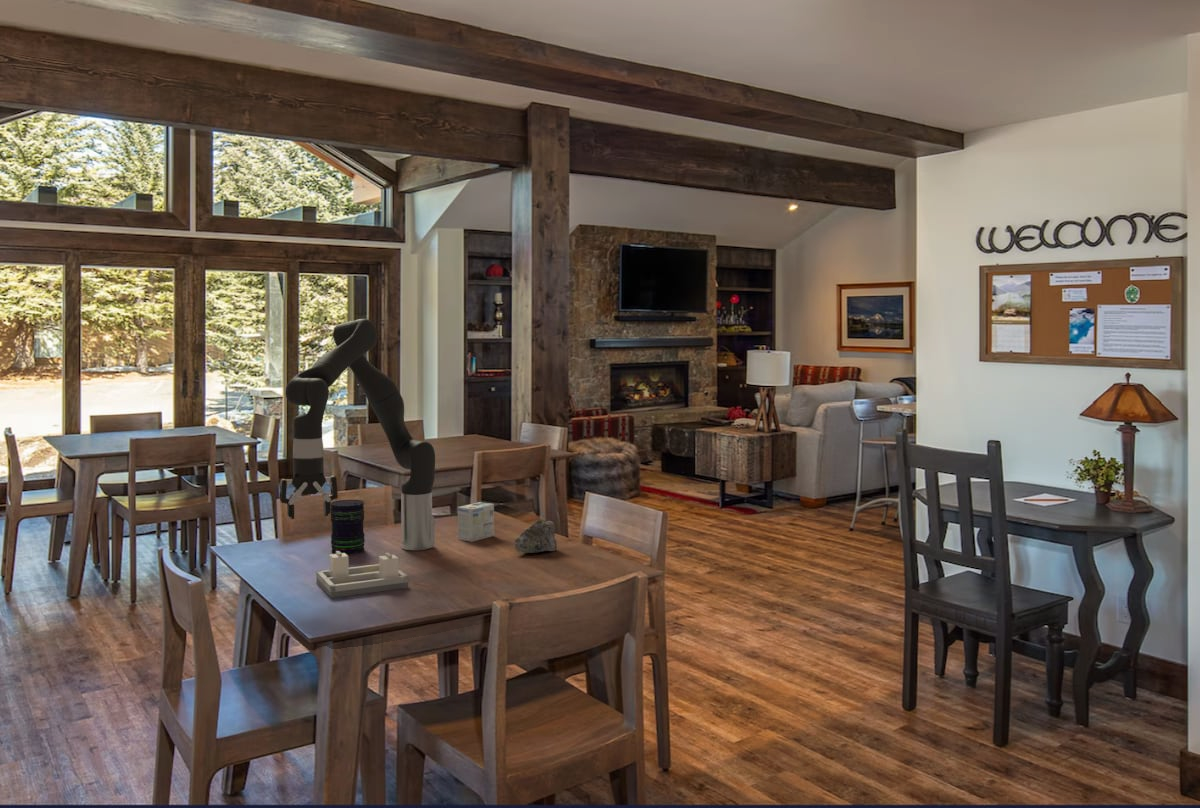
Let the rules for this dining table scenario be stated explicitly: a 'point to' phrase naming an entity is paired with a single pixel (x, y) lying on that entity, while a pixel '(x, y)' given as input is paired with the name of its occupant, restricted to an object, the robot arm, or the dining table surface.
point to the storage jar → (347, 526)
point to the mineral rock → (537, 538)
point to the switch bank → (359, 581)
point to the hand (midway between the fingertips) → (309, 517)
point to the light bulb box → (475, 521)
